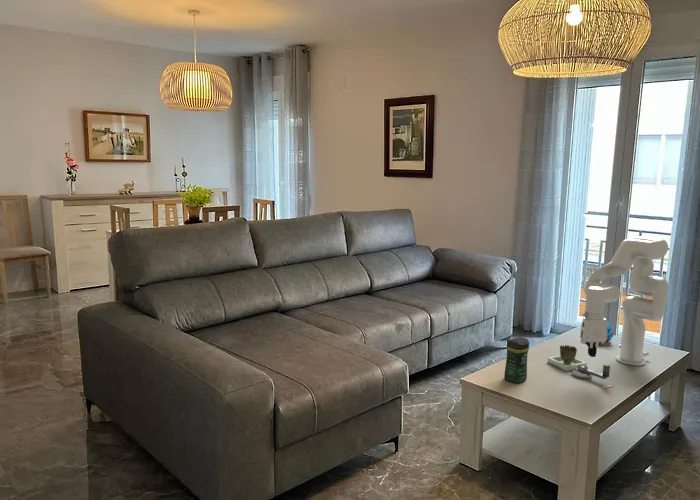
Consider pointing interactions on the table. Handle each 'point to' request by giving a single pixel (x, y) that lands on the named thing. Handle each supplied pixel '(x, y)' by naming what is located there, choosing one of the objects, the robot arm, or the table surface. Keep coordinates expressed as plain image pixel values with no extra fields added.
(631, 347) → the robot arm
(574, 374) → the crank base
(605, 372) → the crank
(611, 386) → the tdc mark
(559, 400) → the table surface
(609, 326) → the gemstone
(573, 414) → the table surface
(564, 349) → the ornate brass lampshade
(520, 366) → the coffee jar
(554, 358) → the tray
